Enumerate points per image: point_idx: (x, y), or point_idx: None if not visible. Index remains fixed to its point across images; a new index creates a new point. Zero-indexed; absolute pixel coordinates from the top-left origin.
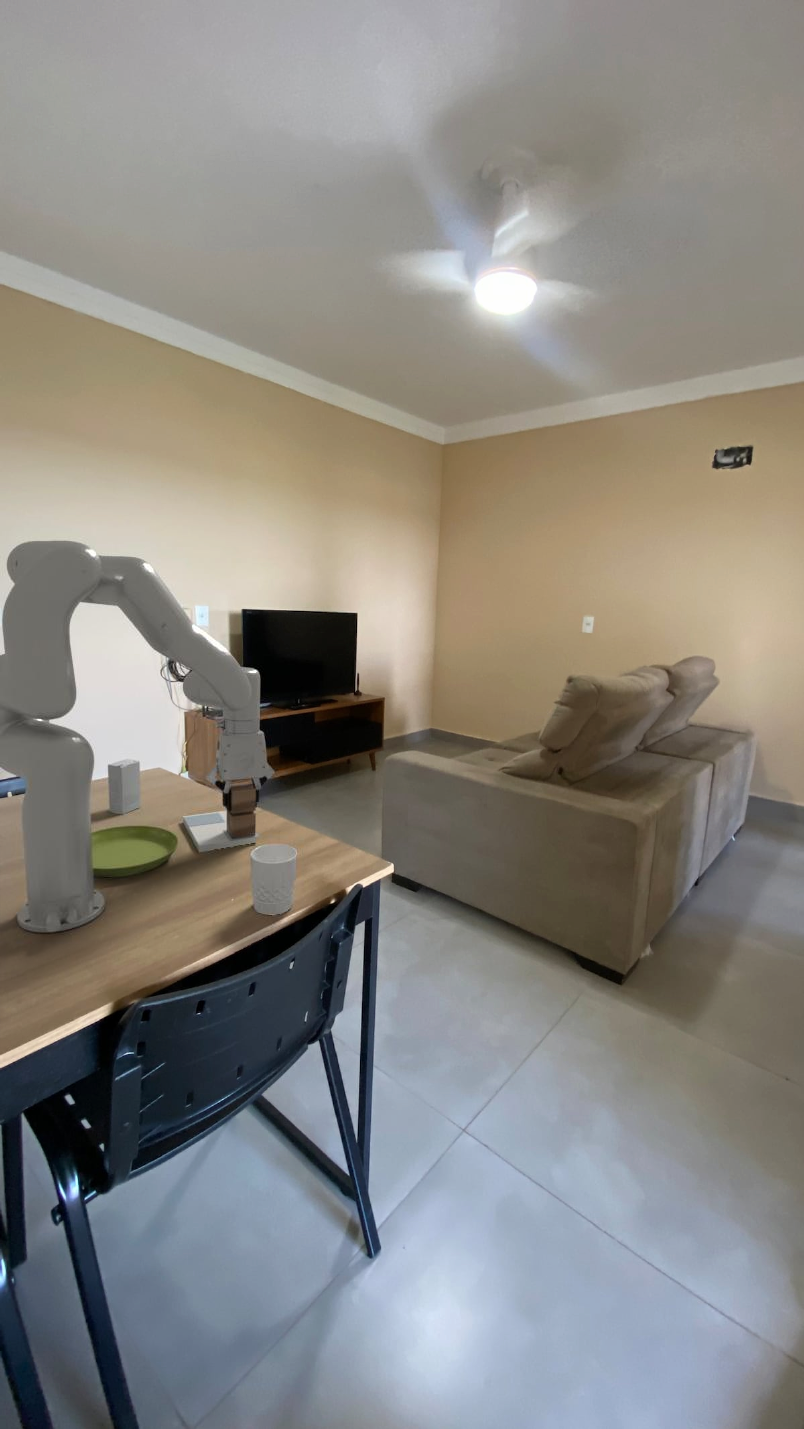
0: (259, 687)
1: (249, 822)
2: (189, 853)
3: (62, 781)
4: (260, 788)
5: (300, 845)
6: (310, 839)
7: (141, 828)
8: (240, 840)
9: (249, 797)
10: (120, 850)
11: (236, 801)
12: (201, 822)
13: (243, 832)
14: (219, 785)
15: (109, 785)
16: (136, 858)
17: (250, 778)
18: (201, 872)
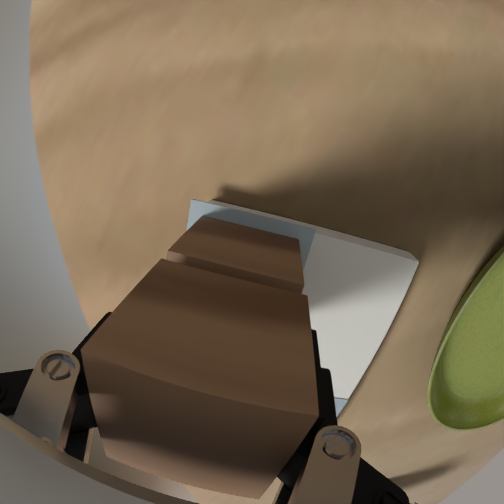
0: None
1: (213, 242)
2: (431, 264)
3: None
4: (51, 352)
5: (95, 101)
6: (54, 132)
7: (443, 418)
8: (270, 220)
9: (165, 323)
10: (502, 358)
11: (279, 338)
12: None
13: (250, 235)
14: (383, 492)
15: None
16: None
17: (72, 464)
18: (469, 117)
